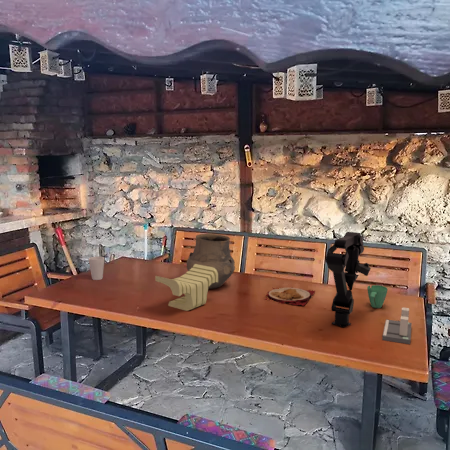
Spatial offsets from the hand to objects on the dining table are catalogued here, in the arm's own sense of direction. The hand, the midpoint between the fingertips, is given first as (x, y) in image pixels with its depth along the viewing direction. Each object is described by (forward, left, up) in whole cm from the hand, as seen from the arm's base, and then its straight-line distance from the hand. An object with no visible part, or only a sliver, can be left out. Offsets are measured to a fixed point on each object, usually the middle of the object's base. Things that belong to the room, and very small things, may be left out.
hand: (350, 290), depth 220 cm
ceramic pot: (-19, +82, -13) cm, 85 cm away
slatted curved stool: (-50, +63, -13) cm, 82 cm away
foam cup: (-63, +140, -13) cm, 154 cm away
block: (-6, -31, -11) cm, 33 cm away
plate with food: (0, +39, -14) cm, 42 cm away
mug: (+20, -2, -13) cm, 24 cm away
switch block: (-2, -26, -13) cm, 29 cm away
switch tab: (+4, -26, -11) cm, 28 cm away
